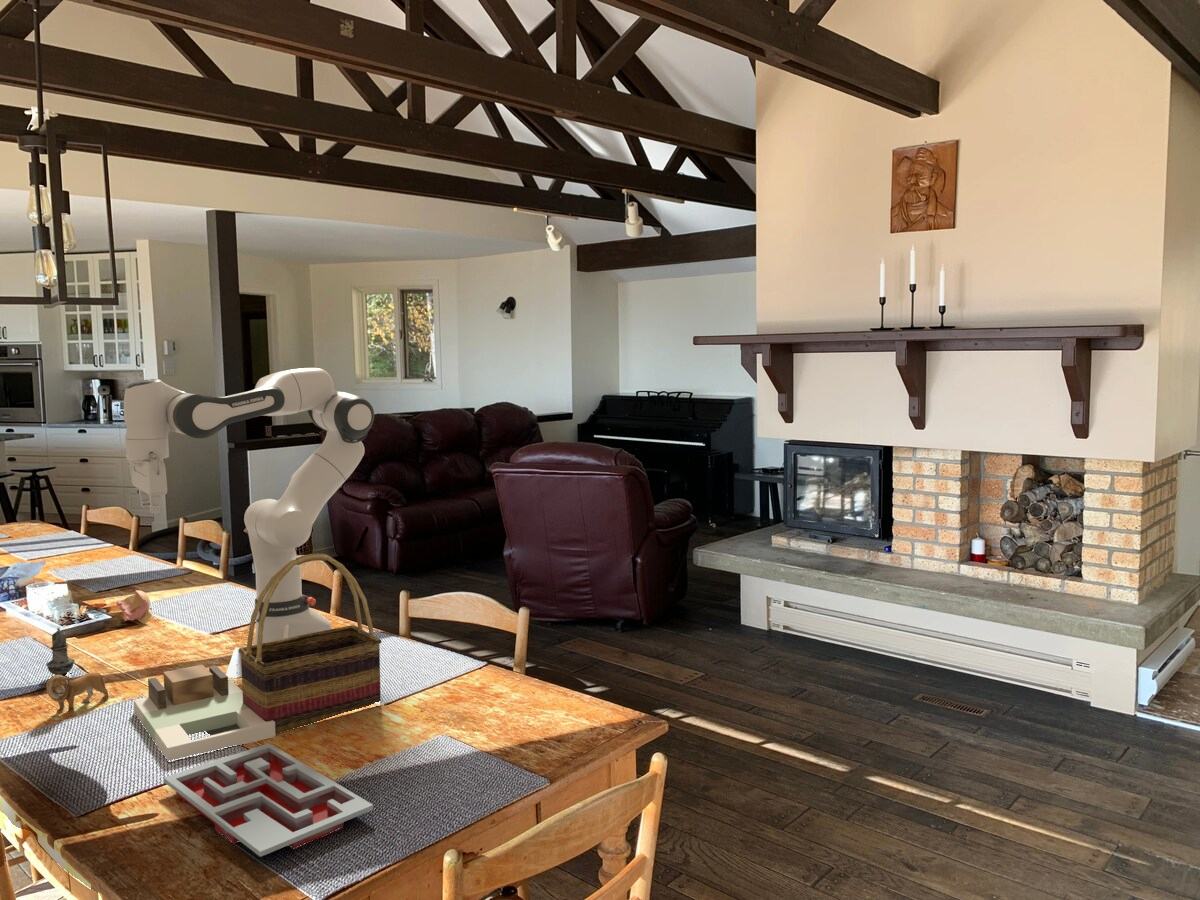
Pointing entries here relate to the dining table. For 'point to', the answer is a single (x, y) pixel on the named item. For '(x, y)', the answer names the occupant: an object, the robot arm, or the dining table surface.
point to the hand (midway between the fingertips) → (150, 510)
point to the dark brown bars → (159, 692)
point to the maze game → (267, 799)
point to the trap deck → (202, 723)
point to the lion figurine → (74, 688)
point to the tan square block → (188, 684)
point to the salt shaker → (60, 655)
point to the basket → (310, 665)
